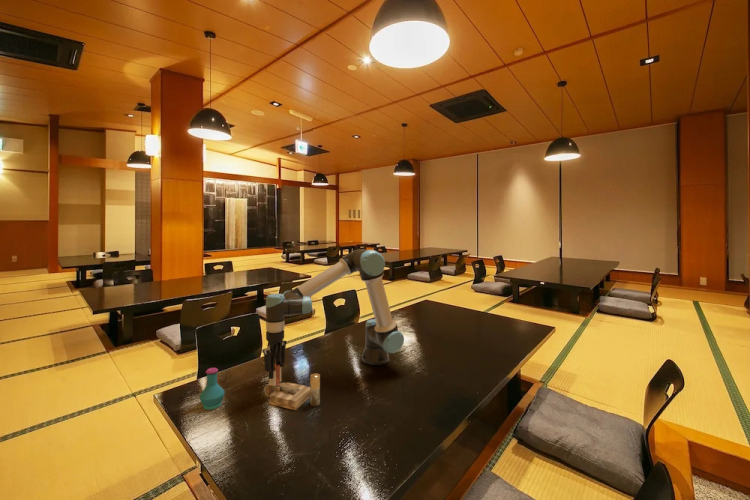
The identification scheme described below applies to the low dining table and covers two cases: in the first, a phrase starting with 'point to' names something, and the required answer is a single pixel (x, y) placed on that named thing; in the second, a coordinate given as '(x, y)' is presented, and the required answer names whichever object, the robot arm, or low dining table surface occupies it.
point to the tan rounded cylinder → (314, 389)
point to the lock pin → (282, 386)
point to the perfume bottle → (212, 391)
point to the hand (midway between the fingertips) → (275, 383)
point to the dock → (288, 396)
